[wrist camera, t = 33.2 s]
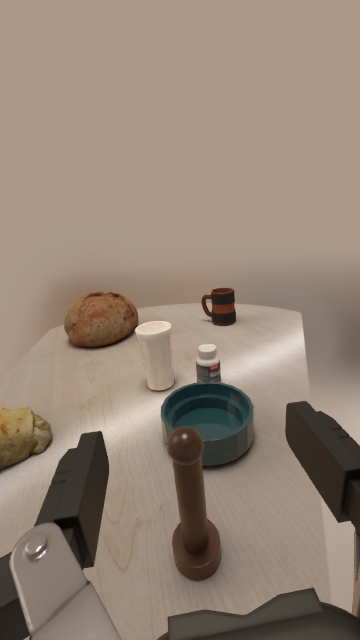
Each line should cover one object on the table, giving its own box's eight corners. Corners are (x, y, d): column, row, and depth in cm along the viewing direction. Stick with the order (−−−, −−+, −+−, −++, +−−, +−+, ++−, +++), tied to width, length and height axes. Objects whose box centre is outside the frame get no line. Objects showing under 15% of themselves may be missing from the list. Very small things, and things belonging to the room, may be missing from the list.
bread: (115, 351, 84) (106, 304, 79) (52, 348, 91) (40, 305, 86) (148, 322, 107) (143, 284, 102) (96, 321, 114) (89, 286, 109)
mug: (205, 317, 106) (203, 288, 102) (237, 317, 102) (236, 287, 98) (200, 325, 98) (198, 294, 94) (234, 326, 94) (233, 293, 91)
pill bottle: (212, 392, 59) (210, 355, 56) (193, 385, 62) (189, 350, 59) (225, 381, 63) (223, 345, 60) (206, 375, 66) (203, 341, 63)
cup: (150, 398, 59) (141, 337, 54) (139, 381, 66) (130, 326, 61) (184, 386, 62) (178, 327, 57) (169, 371, 69) (163, 318, 64)
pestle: (208, 520, 34) (198, 406, 28) (229, 566, 29) (222, 440, 24) (168, 538, 32) (149, 422, 27) (183, 590, 27) (165, 461, 22)
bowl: (225, 397, 57) (224, 374, 55) (272, 448, 43) (273, 420, 41) (154, 419, 52) (151, 395, 50) (182, 484, 39) (179, 454, 37)
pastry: (-55, 471, 45) (-74, 432, 42) (8, 420, 56) (-4, 387, 54) (13, 486, 41) (-4, 443, 38) (66, 428, 52) (56, 392, 50)
